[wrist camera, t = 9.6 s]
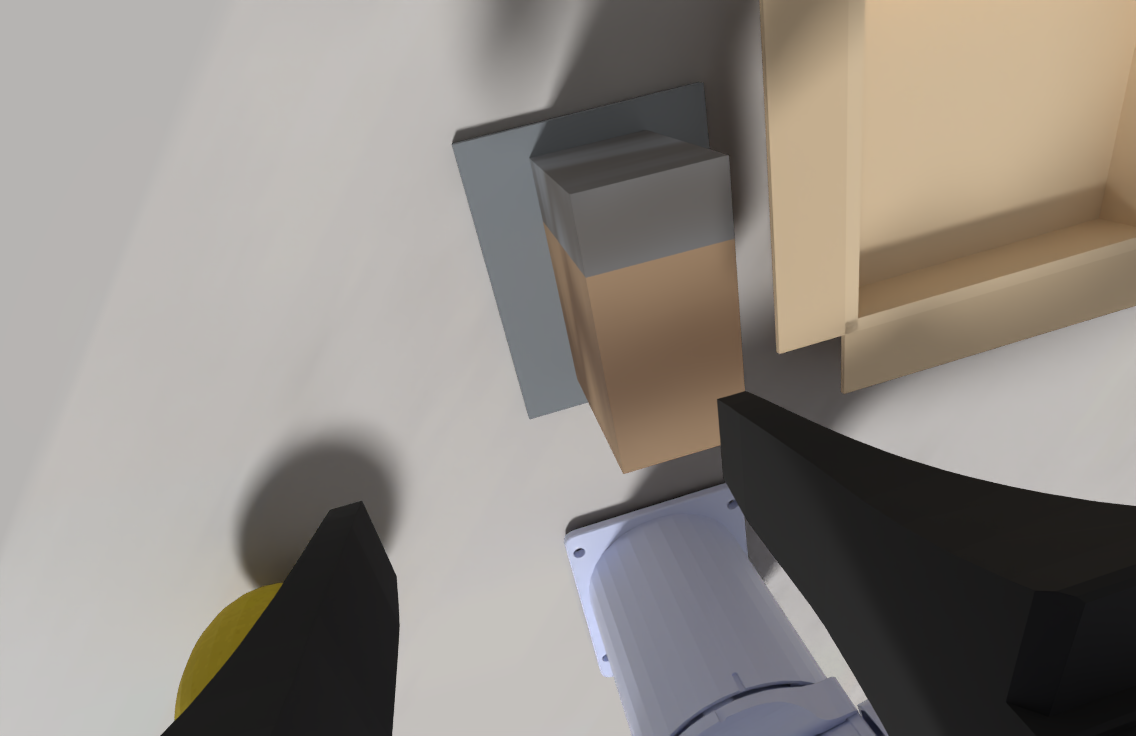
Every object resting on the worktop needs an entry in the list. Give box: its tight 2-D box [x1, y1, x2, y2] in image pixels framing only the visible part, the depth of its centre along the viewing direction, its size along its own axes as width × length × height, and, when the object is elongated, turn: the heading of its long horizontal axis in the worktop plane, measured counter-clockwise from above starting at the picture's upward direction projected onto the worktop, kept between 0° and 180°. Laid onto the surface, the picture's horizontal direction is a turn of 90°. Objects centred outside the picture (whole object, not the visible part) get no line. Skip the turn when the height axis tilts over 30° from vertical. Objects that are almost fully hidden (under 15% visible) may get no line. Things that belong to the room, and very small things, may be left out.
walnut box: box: [529, 130, 745, 474], centre depth 19 cm, size 8×4×6 cm, turn 11°
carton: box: [759, 0, 1136, 394], centre depth 21 cm, size 16×18×2 cm
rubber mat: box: [452, 82, 710, 419], centre depth 21 cm, size 10×8×1 cm
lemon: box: [175, 583, 283, 720], centre depth 21 cm, size 6×6×8 cm
